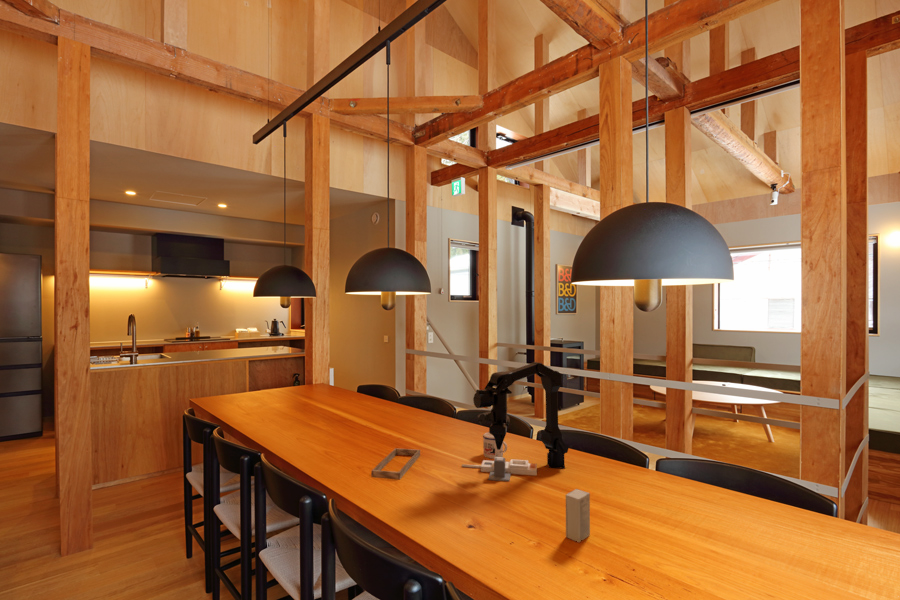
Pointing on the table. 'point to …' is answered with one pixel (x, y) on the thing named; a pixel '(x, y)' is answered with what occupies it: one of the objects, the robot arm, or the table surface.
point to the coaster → (506, 478)
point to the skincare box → (577, 515)
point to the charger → (499, 467)
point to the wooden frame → (396, 451)
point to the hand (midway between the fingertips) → (499, 445)
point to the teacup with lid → (492, 446)
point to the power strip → (508, 466)
